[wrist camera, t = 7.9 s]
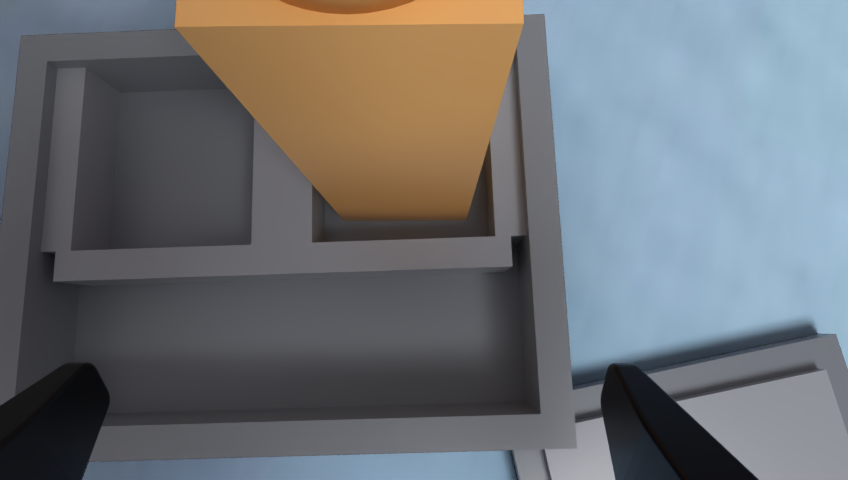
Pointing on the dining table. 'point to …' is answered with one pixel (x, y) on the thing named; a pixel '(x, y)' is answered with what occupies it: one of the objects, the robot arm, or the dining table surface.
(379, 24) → the post
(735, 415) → the lid
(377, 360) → the tray
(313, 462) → the dining table surface
